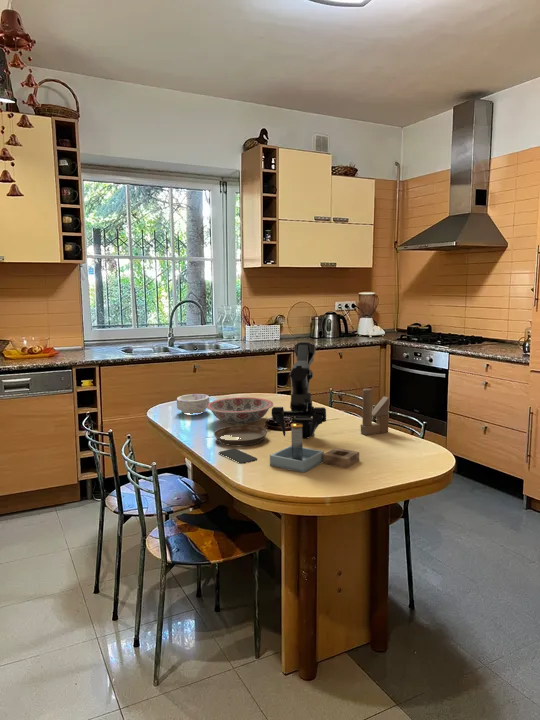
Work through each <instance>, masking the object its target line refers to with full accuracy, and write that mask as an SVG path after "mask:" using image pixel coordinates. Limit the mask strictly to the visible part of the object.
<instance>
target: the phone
mask: <svg viewBox="0 0 540 720" xmlns="http://www.w3.org/2000/svg"><path fill="white" fill-rule="evenodd" d="M219 453H220V454H222V455H224V456H227V457H229V458H231V459H233V460H235V461H237V462H239V463H244V464H247V463H246V462H248V463H251V461H252V462H255V460H256V461H257V460H258V458H257V457H255V456H253V455H251V454H249V453H246V452H244V451H241V450H240V449H237V448H230V449H226V450H221V451H219V452H218V454H219ZM222 455H221V456H222ZM224 456H223V457H224ZM235 461H234V462H235ZM237 462H236V463H237ZM239 463H238V464H239Z"/></svg>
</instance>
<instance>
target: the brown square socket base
mask: <svg viewBox="0 0 540 720" xmlns="http://www.w3.org/2000/svg"><path fill="white" fill-rule="evenodd" d="M357 462H360V451H355V450H350V449H345V448H339V447H334V448H332V449H330V450H329V451H327V452H324V454H323V462H322V464H325V465H330V466H334V467H339V468H344V469H349V468H350V467H351V466H353V465H355V464H356V463H357Z"/></svg>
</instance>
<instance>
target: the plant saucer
mask: <svg viewBox="0 0 540 720" xmlns="http://www.w3.org/2000/svg"><path fill="white" fill-rule="evenodd" d="M213 435H214V438H215V439H216V440H217V441H218V442H220V443H221V444H223V443H224V444H223V445H226V444H229V445H228V446H231V445H246V446H251V444H252V445H255V443H256V444H258V443H261V442H262V441H263V440H264V439H265V438H266V436H267V435H268V429H266V428H264V427H262V426H258V425H254V424H253V425H251V424H235V425H231V426H230V425H229V426H226V427H225V426H224V427H221V428H219V429H217V430H215V431H214V434H213ZM224 435H230V436H231V435H232V437H239V439H238V440H225V439H221V438H220V437H221V436H224ZM240 438H241V439H240Z"/></svg>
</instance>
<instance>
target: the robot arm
mask: <svg viewBox="0 0 540 720" xmlns="http://www.w3.org/2000/svg"><path fill="white" fill-rule="evenodd" d="M293 347H294V348H293V349H294V350H293V354H294V356H296V362H295V363H294V364H292V367H291V369H290V372H289V380H290V384H291V387H292V389H291V391H292V392H291V394H290V405H289V406H290V407H289V408H290V410H284V406H272V407H271V412H270V413H271V417H272V421H274V422H276V423H277V424H279V426H280V428H281V430H282V434H283V437H286V421H285V417H287V418H288V417H291V418H292V422H293V423H301V424H303V427H302V439H309V438H310V437H311V438H312V437H314V436H315V433H316V430H317V428H318V426H319V425H321V424H323V423H326V422H327V409H326V408H325V407H324V406H323V407H321V406H320V407H316V406H313V399H312V393H311V392H310V381H311V380H312V379H313V377H314V373H313V371H312V369H311V368H310V367H311V365H312V363H313V362H314V358H315V357H314V356H316V345H315V344H313V343H311V342H309V341H299V342H297V343H295V344H294V346H293Z"/></svg>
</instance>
